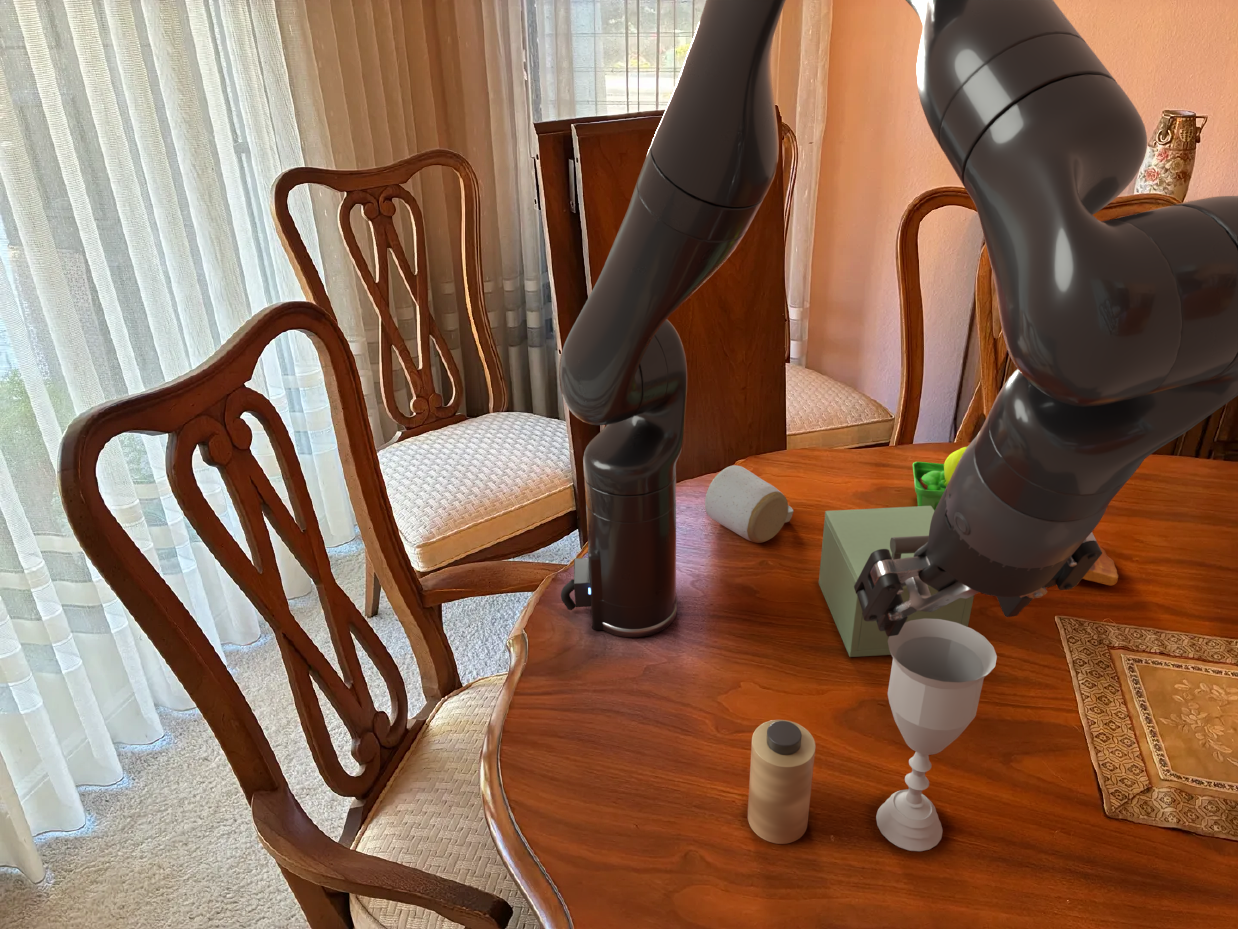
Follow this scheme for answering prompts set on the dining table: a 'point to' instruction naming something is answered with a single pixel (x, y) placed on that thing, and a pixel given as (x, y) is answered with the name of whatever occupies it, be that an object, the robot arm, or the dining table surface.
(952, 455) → the fruit basket
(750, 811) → the pepper mill
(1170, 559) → the dining table surface
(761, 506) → the ceramic mug
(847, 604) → the bread box
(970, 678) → the chalice
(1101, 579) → the pottery fragment
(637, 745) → the dining table surface
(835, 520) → the bread box lid
